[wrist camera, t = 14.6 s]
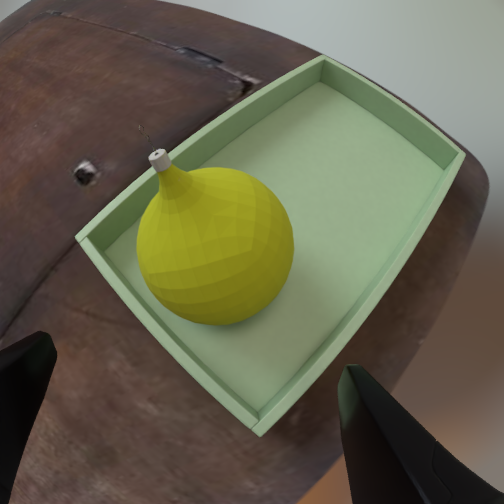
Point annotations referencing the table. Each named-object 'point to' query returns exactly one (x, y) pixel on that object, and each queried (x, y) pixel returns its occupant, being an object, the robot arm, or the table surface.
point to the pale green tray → (295, 229)
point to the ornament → (213, 243)
